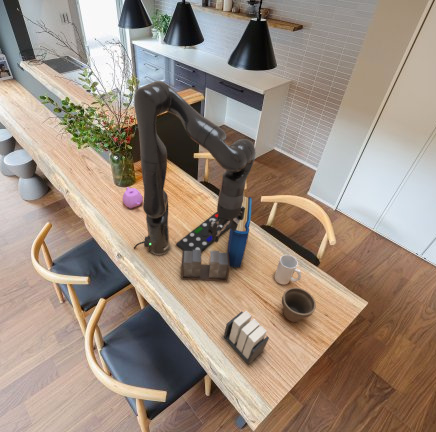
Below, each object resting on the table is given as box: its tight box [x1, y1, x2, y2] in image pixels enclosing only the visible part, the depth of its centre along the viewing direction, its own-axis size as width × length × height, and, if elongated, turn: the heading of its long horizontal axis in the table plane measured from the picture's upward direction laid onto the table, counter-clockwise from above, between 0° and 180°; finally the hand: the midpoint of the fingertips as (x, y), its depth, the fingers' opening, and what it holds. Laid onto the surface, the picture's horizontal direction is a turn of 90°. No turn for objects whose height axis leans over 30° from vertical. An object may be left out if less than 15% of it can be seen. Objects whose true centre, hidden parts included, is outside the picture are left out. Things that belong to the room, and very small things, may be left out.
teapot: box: [122, 186, 144, 209], centre depth 160 cm, size 10×15×9 cm
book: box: [226, 195, 253, 268], centre depth 131 cm, size 22×7×25 cm, turn 168°
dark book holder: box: [223, 310, 270, 366], centre depth 104 cm, size 12×8×15 cm, turn 38°
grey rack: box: [180, 250, 231, 282], centre depth 128 cm, size 19×8×12 cm, turn 86°
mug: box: [274, 254, 302, 285], centre depth 124 cm, size 10×7×12 cm, turn 42°
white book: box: [229, 310, 252, 344], centre depth 106 cm, size 3×6×14 cm, turn 128°
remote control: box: [175, 211, 231, 253], centre depth 147 cm, size 11×30×2 cm, turn 135°
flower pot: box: [281, 287, 317, 322], centre depth 114 cm, size 12×11×10 cm
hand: (224, 235), depth 106 cm, fingers open, 8 cm apart
